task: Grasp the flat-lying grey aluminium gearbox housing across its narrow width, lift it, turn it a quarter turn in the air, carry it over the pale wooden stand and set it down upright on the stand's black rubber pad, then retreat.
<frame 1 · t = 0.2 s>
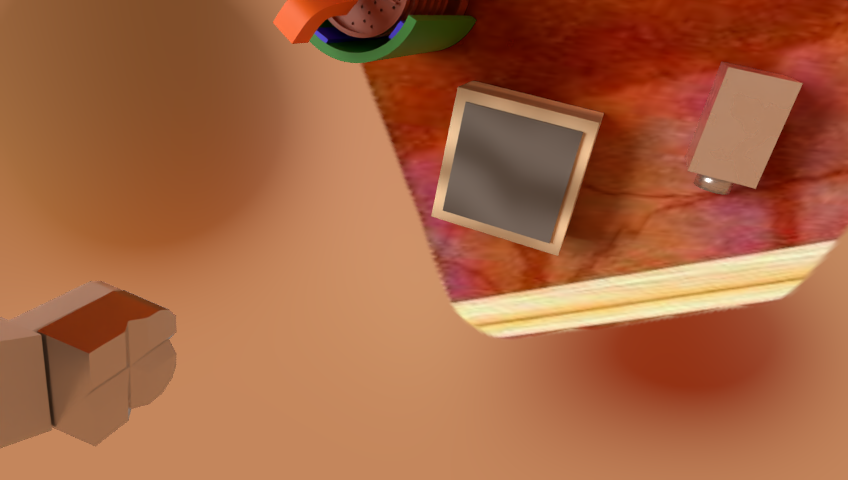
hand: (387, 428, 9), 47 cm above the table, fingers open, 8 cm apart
stand: (520, 160, 55), on the table
housing: (734, 118, 48), on the table
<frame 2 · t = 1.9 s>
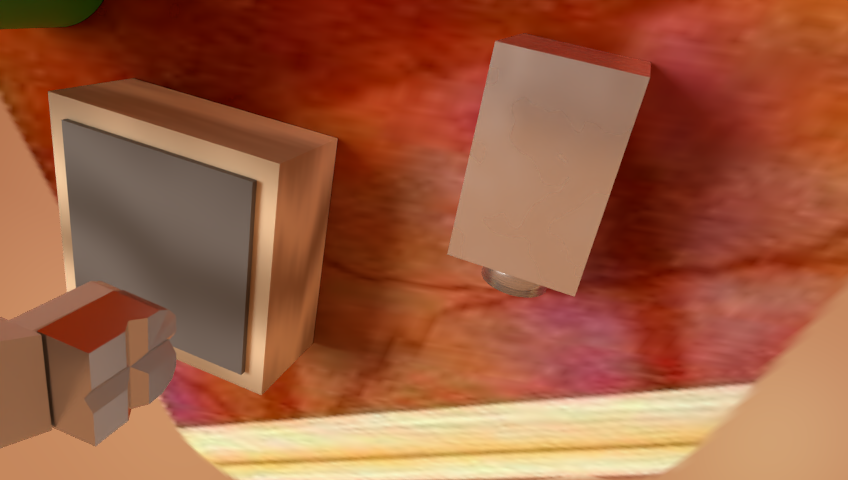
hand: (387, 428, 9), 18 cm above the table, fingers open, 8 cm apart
stand: (226, 215, 32), on the table
housing: (557, 144, 25), on the table
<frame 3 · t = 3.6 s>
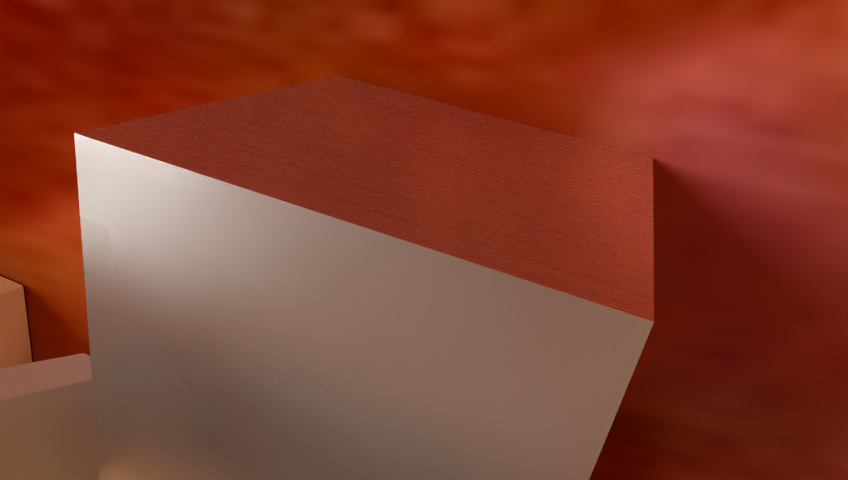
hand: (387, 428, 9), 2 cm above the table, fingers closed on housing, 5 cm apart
housing: (435, 330, 11), on the table, touching gripper
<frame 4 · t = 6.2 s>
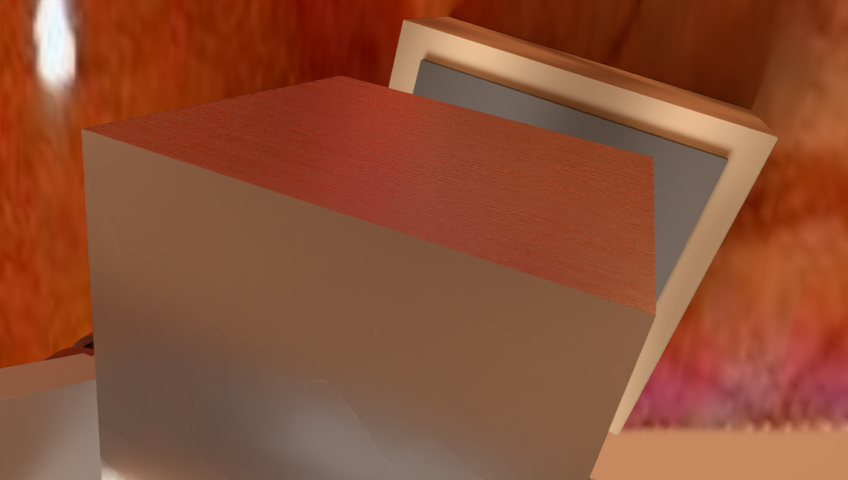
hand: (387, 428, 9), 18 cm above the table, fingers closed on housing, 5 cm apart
stand: (540, 200, 25), on the table
housing: (436, 330, 11), point 16 cm above the table, touching gripper
motor: (266, 316, 33), on the table
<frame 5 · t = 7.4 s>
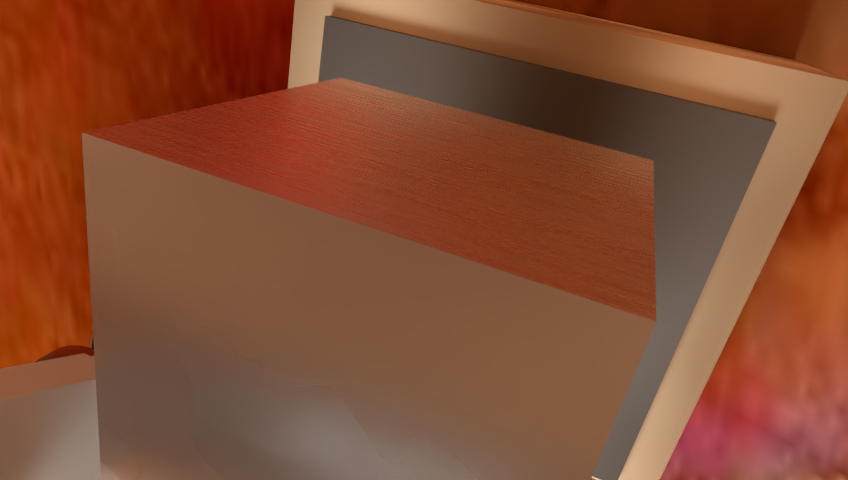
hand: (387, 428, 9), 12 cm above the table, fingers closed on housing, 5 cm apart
stand: (519, 203, 20), on the table
housing: (436, 332, 11), point 10 cm above the table, touching gripper
motor: (208, 364, 28), on the table
when the fingers open (8 cm above the table, at t = 8.4 s): housing drops 1 cm, resting on stand.
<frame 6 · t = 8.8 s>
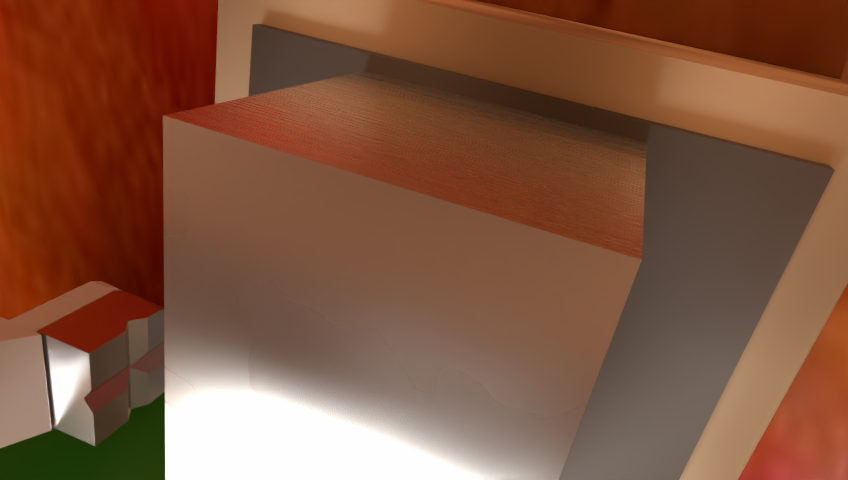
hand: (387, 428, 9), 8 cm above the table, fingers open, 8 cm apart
stand: (505, 243, 17), on the table
housing: (450, 304, 12), point 5 cm above the table, touching stand
motor: (163, 409, 25), on the table
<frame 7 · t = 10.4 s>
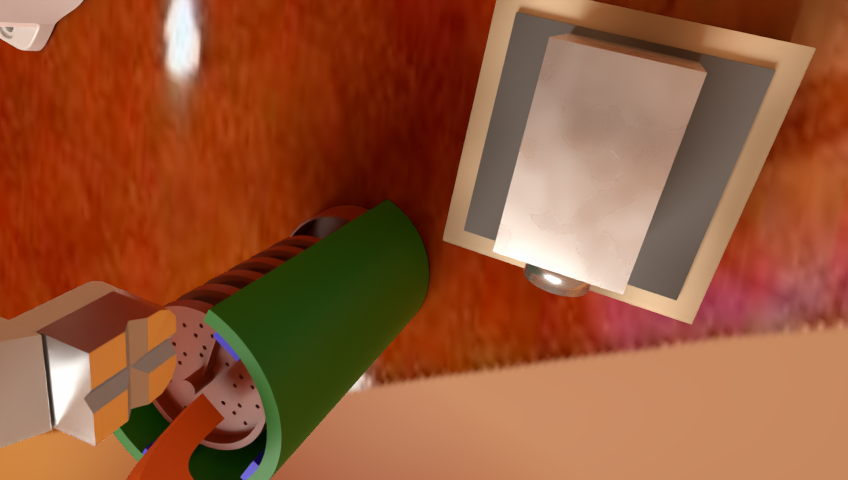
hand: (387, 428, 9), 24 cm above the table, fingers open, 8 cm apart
stand: (609, 138, 30), on the table
housing: (601, 144, 25), point 5 cm above the table, touching stand
motor: (364, 267, 38), on the table
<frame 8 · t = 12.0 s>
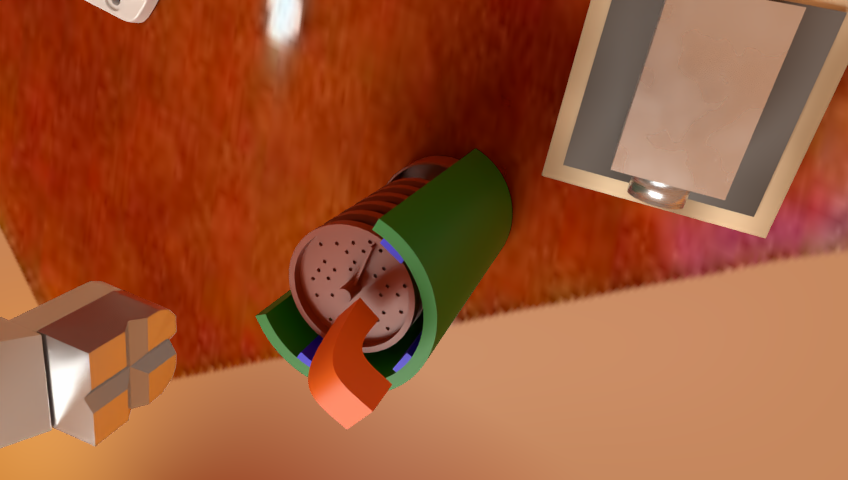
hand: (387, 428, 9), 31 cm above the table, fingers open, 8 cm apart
stand: (684, 84, 34), on the table
housing: (692, 82, 29), point 5 cm above the table, touching stand
motor: (449, 212, 42), on the table
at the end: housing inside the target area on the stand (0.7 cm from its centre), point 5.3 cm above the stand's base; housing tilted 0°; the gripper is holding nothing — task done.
